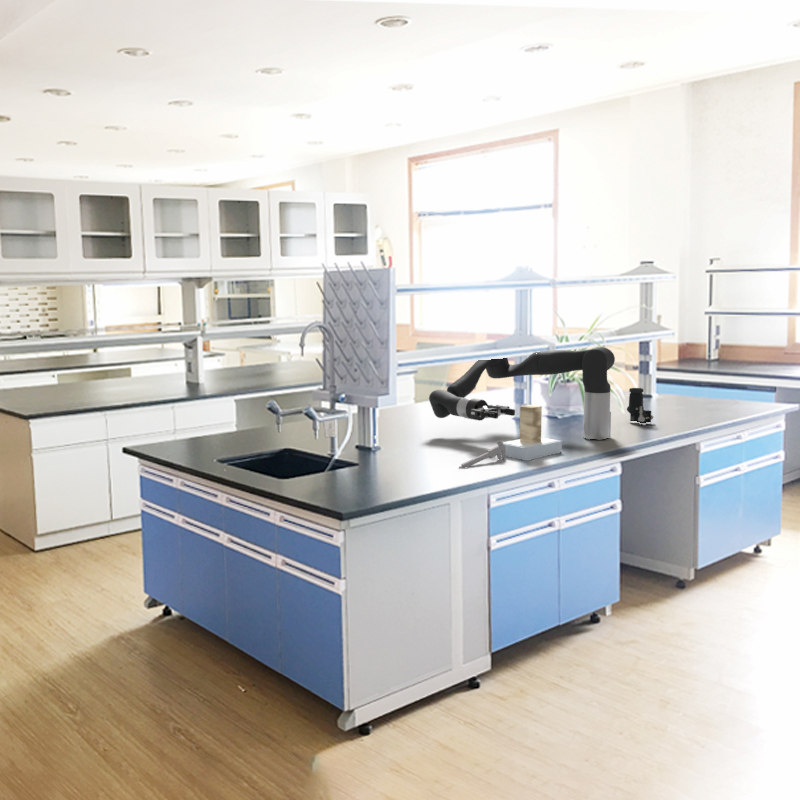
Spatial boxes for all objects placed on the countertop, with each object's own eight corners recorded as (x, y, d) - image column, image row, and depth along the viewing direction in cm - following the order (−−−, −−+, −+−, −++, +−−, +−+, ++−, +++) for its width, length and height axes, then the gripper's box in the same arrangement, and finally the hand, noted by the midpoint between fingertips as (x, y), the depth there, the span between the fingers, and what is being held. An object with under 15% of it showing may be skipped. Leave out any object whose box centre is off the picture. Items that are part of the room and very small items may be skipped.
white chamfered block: (534, 447, 295) (534, 435, 294) (561, 452, 286) (561, 440, 285) (499, 454, 283) (499, 442, 282) (526, 460, 274) (526, 447, 273)
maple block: (529, 439, 287) (530, 404, 285) (541, 441, 283) (541, 406, 281) (519, 441, 284) (520, 406, 282) (531, 443, 280) (531, 407, 278)
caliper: (503, 459, 278) (503, 440, 277) (505, 459, 277) (505, 441, 276) (458, 469, 265) (458, 449, 264) (460, 469, 264) (460, 449, 263)
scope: (642, 391, 330) (621, 388, 338) (641, 426, 332) (620, 422, 340) (655, 389, 335) (634, 386, 343) (654, 423, 337) (633, 420, 345)
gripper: (458, 400, 298) (492, 405, 286) (485, 396, 307) (519, 401, 295) (458, 421, 299) (491, 427, 287) (485, 416, 308) (519, 422, 296)
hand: (506, 414), depth 291 cm, fingers open, 8 cm apart
